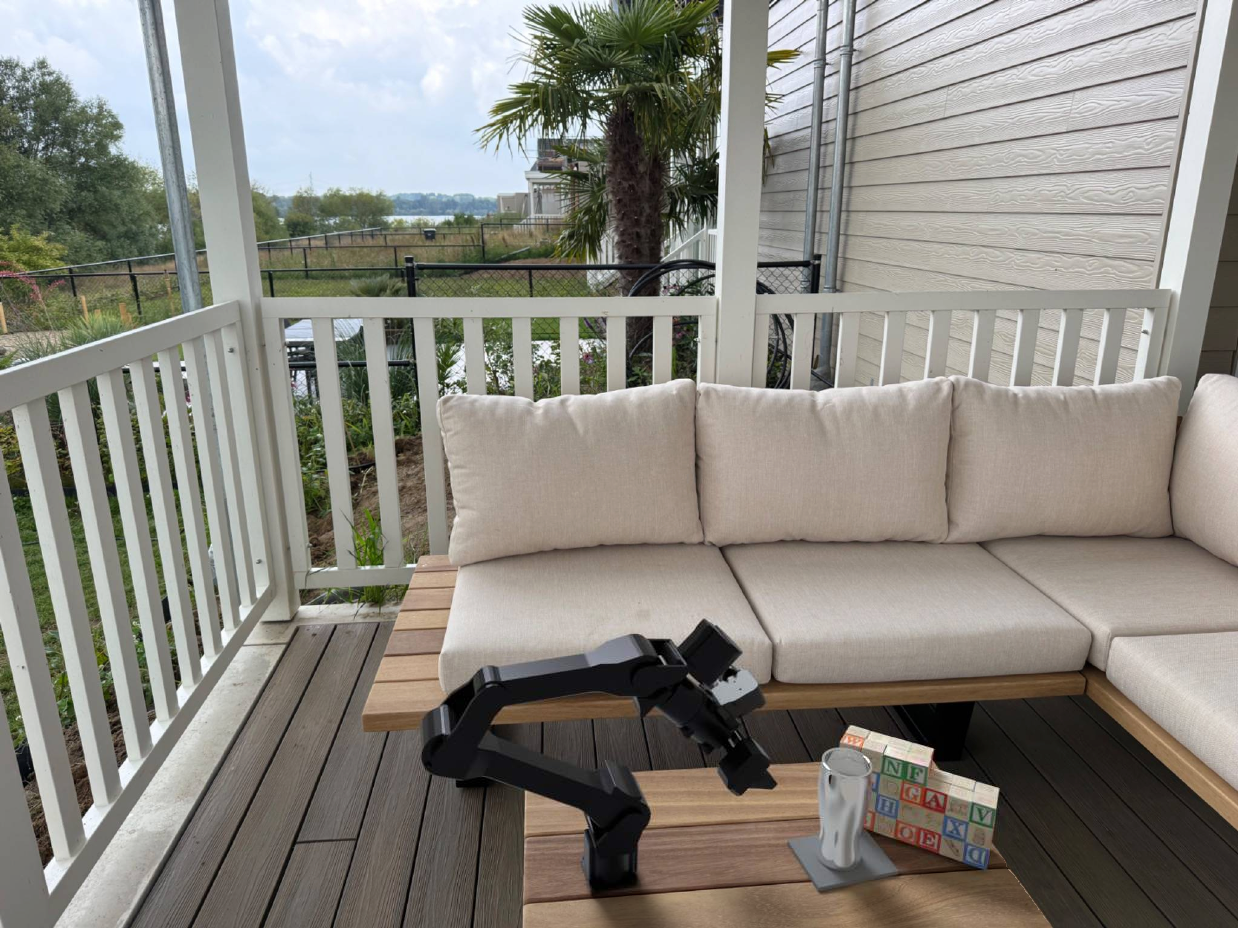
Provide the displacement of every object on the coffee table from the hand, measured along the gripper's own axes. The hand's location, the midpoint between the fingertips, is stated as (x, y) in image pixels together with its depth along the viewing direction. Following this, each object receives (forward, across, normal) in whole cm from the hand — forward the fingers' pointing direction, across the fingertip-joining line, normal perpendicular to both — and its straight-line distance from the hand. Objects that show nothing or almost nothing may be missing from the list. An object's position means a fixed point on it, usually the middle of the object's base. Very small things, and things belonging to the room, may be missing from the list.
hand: (760, 764), depth 111 cm
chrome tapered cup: (+16, -5, +2) cm, 17 cm away
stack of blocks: (+25, -4, -7) cm, 26 cm away
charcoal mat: (+17, -6, +2) cm, 18 cm away
